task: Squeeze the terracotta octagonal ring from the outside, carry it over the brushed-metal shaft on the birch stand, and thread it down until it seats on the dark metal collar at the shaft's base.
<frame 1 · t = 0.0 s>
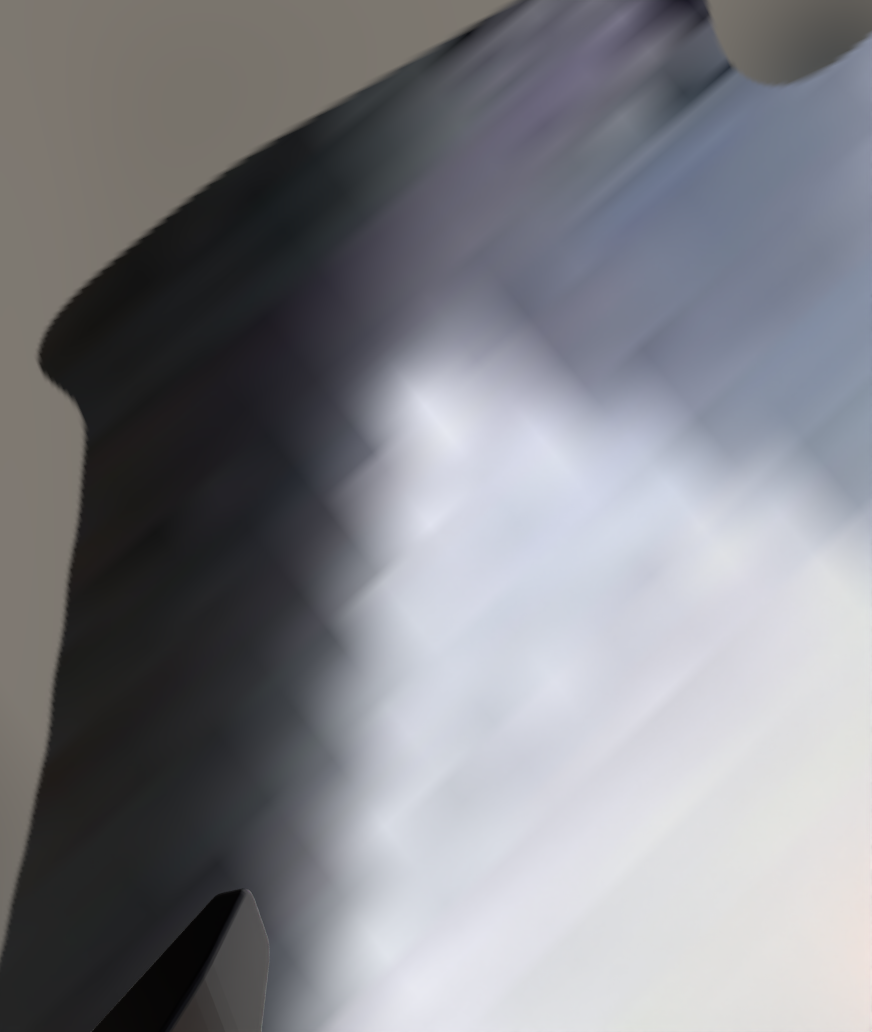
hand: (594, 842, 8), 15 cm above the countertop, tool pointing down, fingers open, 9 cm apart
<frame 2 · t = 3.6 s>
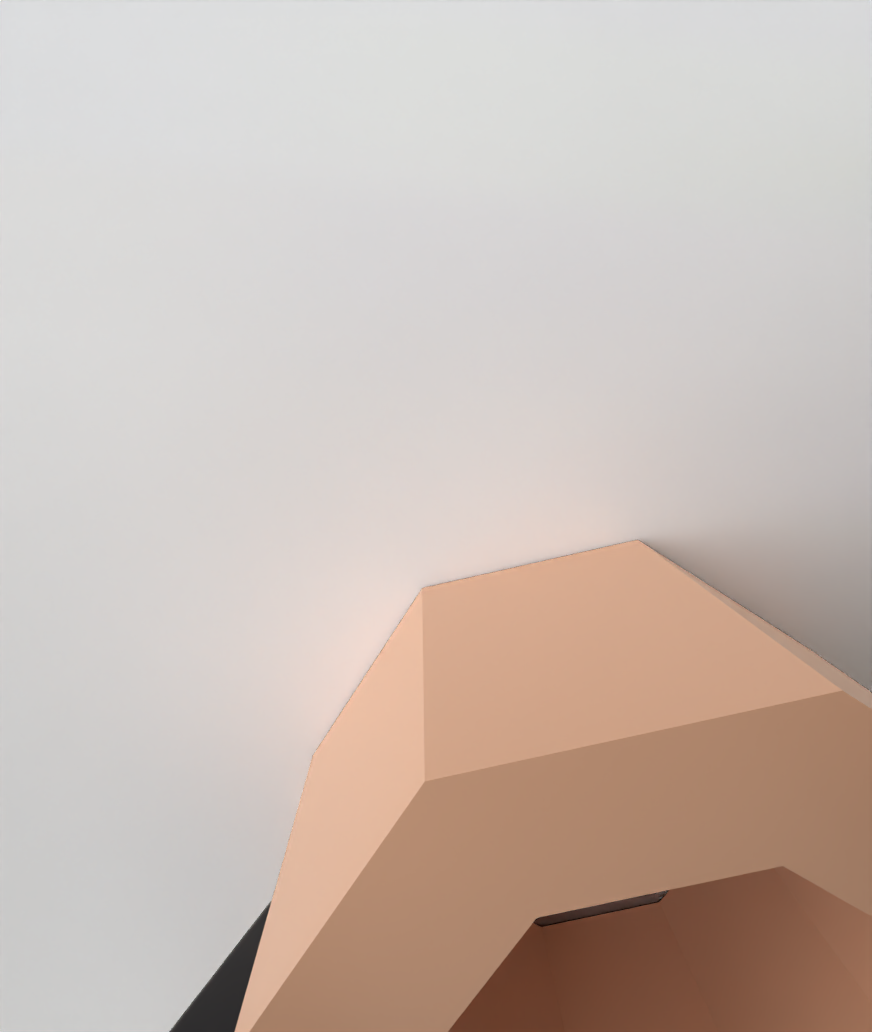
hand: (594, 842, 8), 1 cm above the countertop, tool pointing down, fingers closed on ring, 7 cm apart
ring: (575, 790, 9), on the countertop, touching gripper
when the fingers open (6 cm above the countertop, at t = 8.6 s): ring drops 1 cm, resting on post stand.
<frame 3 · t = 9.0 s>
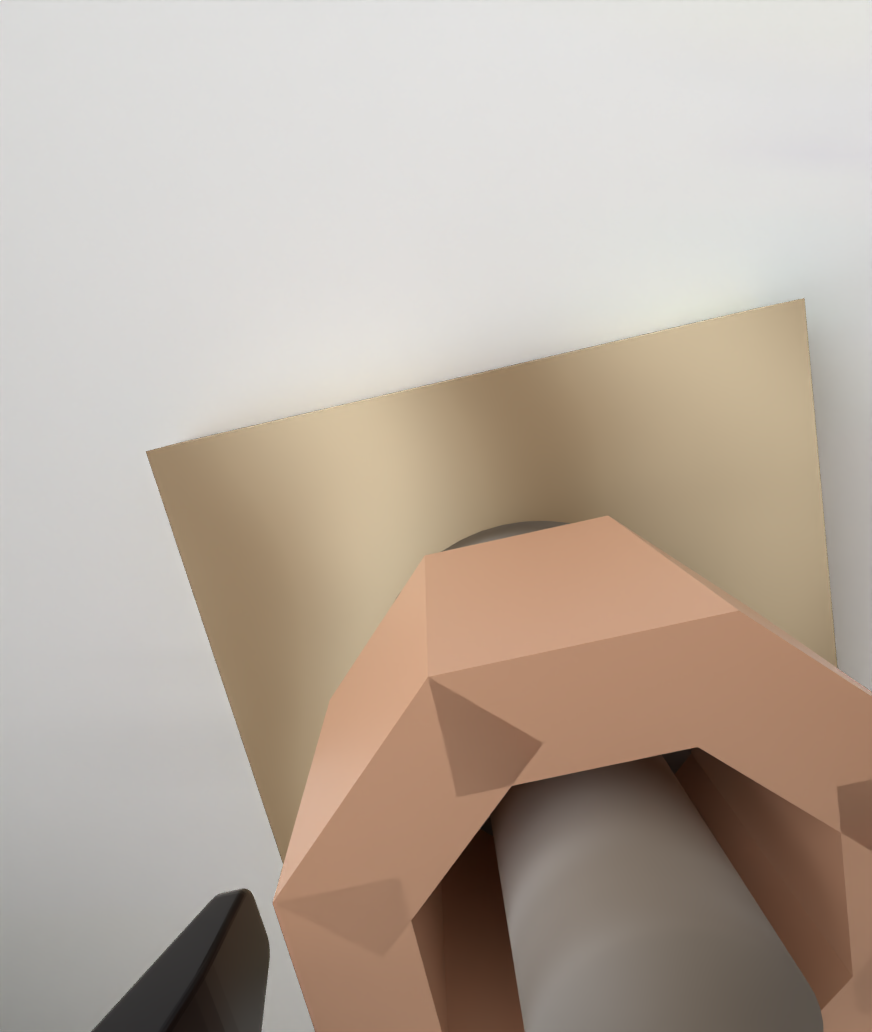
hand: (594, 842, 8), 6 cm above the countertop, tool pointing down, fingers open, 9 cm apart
post stand: (521, 645, 14), on the countertop
ring: (554, 733, 10), point 3 cm above the countertop, touching post stand
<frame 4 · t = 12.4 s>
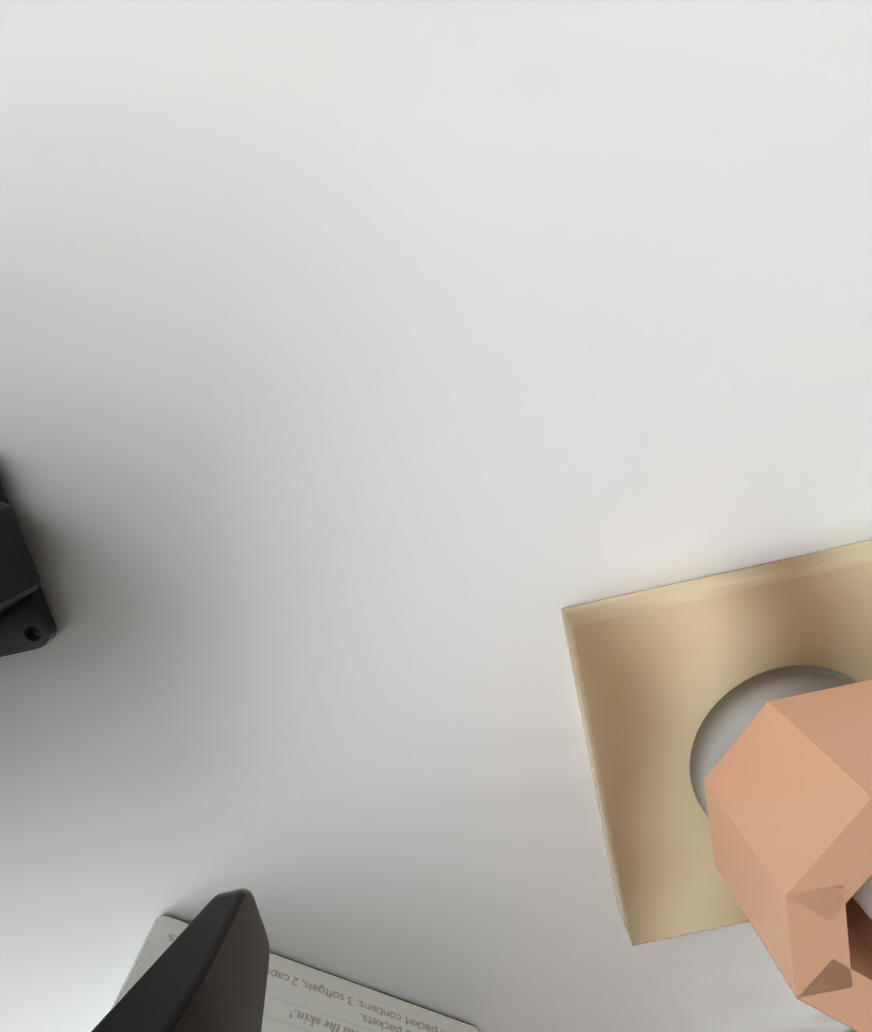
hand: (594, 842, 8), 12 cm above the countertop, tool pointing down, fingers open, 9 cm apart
post stand: (763, 731, 21), on the countertop
ring: (829, 798, 18), point 3 cm above the countertop, touching post stand
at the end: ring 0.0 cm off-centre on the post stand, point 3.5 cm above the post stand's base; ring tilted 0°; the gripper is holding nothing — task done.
